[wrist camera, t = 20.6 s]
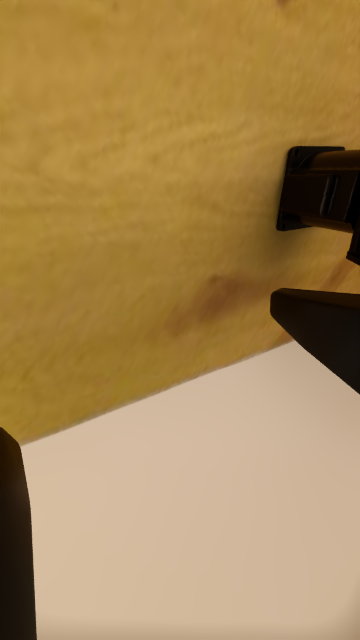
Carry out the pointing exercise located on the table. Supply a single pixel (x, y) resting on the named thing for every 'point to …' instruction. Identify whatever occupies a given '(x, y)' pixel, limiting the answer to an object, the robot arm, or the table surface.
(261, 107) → the table surface
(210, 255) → the table surface
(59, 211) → the table surface
